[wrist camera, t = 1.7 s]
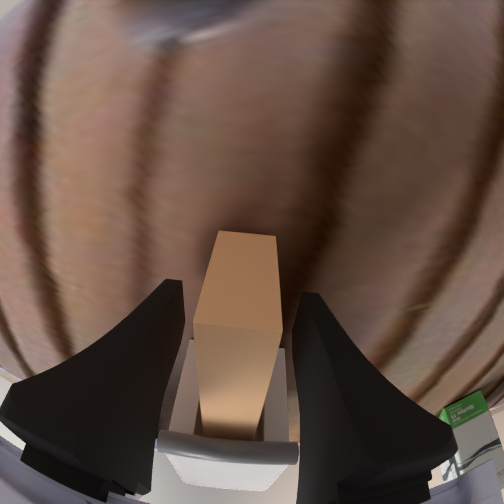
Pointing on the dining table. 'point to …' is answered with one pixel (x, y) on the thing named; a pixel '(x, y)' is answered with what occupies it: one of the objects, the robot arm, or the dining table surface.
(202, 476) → the box
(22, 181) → the dining table surface
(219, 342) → the tan rectangular bar
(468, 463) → the ink box
